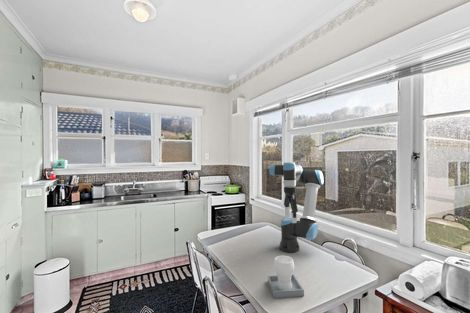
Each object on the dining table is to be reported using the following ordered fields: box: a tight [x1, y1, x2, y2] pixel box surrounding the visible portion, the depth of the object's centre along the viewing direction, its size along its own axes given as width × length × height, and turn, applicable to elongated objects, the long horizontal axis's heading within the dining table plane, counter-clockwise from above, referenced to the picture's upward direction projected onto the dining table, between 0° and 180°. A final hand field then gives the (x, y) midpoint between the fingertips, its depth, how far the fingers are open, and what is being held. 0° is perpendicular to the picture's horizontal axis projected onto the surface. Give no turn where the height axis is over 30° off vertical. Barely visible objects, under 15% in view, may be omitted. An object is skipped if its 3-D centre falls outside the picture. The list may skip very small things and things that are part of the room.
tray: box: [267, 273, 305, 299], centre depth 122 cm, size 15×15×3 cm
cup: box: [273, 255, 295, 290], centre depth 123 cm, size 11×11×15 cm
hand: (290, 219), depth 144 cm, fingers open, 13 cm apart
